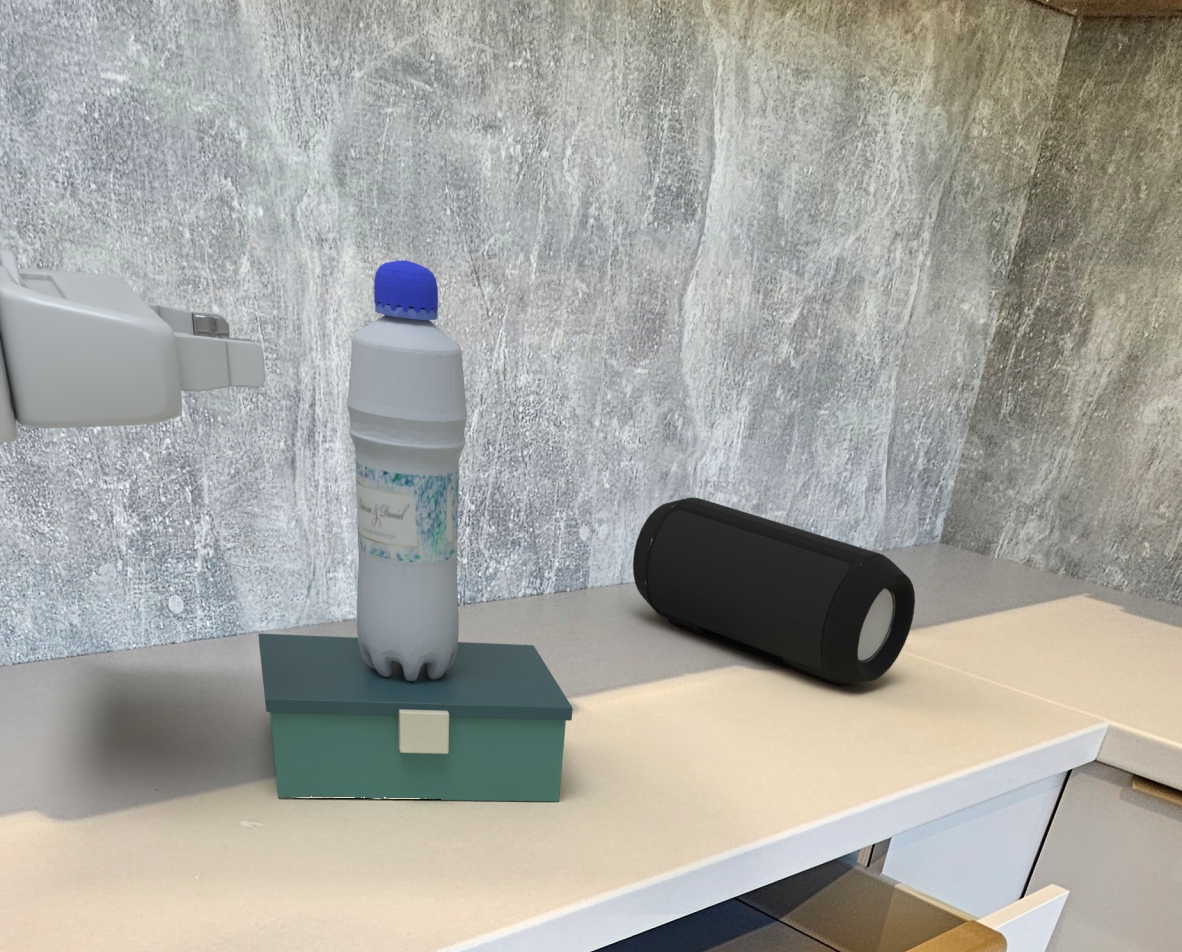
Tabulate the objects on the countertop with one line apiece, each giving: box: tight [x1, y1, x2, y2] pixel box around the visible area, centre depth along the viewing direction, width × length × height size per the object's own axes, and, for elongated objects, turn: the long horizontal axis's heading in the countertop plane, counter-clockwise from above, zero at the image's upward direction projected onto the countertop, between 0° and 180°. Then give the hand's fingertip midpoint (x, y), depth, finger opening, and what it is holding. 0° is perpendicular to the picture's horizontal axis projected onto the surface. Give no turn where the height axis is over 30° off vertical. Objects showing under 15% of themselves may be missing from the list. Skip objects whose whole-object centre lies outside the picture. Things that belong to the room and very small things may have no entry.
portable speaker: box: [632, 497, 916, 686], centre depth 105 cm, size 26×10×10 cm, turn 45°
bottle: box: [346, 259, 468, 681], centre depth 69 cm, size 7×7×20 cm
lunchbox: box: [258, 633, 574, 802], centre depth 78 cm, size 19×14×6 cm
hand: (244, 349), depth 62 cm, fingers open, 8 cm apart
